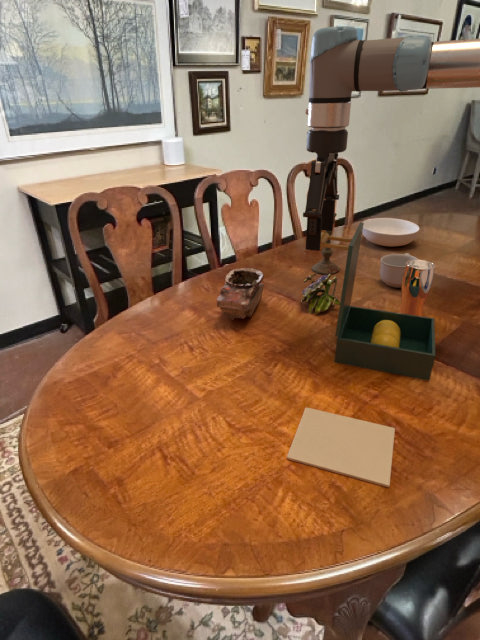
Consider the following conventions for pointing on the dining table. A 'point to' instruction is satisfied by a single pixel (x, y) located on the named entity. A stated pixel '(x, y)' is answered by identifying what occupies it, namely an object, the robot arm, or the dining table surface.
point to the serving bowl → (390, 231)
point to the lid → (349, 270)
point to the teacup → (394, 268)
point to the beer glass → (416, 286)
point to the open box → (405, 360)
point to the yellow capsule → (386, 334)
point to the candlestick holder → (326, 260)
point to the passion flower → (324, 298)
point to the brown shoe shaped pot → (241, 292)
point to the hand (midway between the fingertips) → (319, 239)
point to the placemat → (344, 446)
